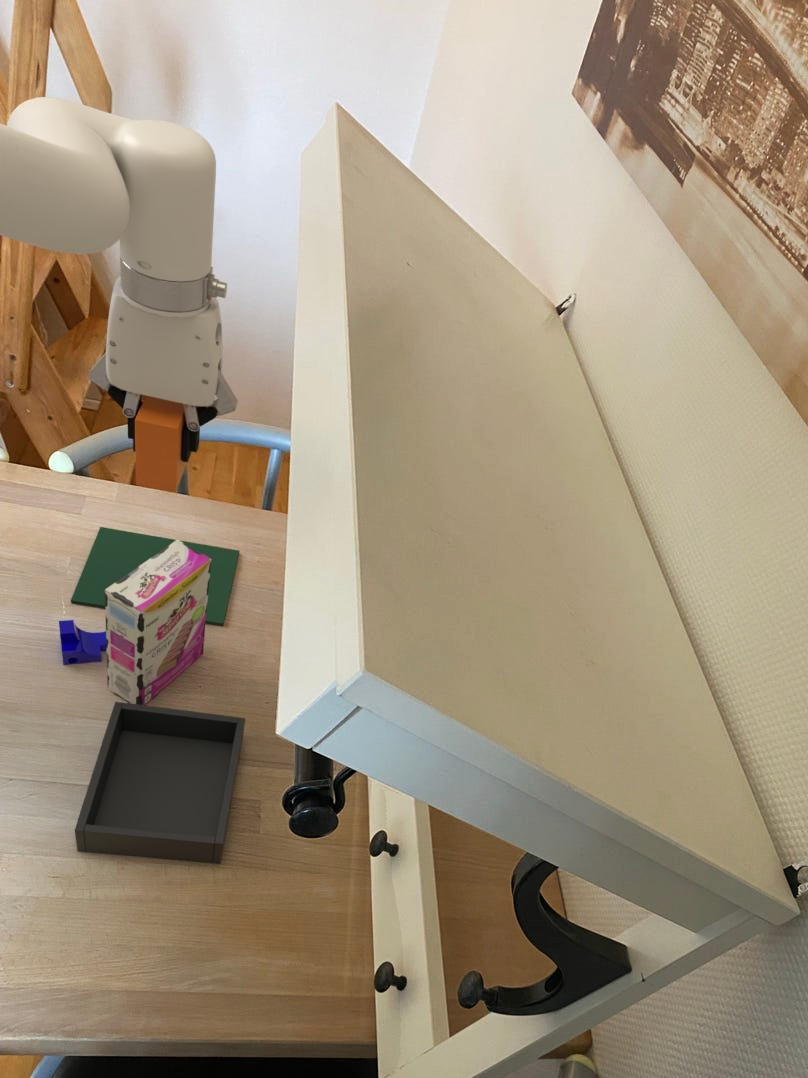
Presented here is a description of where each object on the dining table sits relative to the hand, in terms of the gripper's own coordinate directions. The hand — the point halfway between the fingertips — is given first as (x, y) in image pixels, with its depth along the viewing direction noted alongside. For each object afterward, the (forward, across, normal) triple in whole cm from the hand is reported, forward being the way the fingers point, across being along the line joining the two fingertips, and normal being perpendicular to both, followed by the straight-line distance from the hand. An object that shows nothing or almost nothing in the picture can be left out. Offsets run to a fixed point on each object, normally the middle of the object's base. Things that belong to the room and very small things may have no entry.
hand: (163, 448), depth 88 cm
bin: (+25, -6, +25) cm, 36 cm away
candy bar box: (+25, -2, +9) cm, 27 cm away
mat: (+25, +2, -7) cm, 26 cm away
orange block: (+3, 0, 0) cm, 3 cm away
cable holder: (+25, +5, +8) cm, 27 cm away
